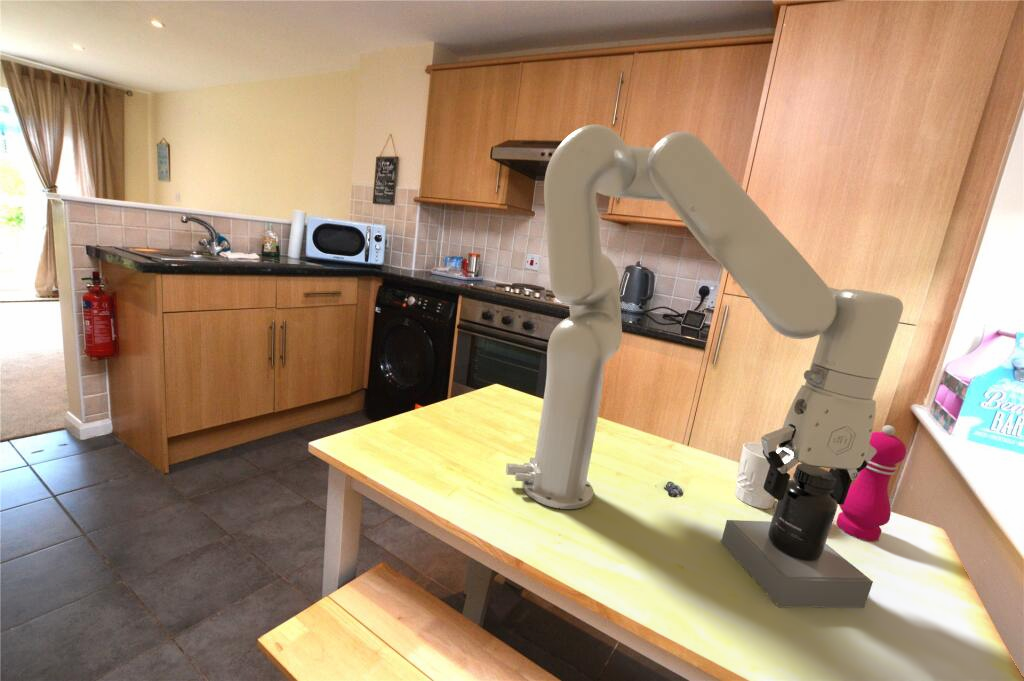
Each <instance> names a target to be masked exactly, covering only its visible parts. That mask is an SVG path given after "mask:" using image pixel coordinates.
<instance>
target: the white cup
mask: <svg viewBox="0 0 1024 681" xmlns="http://www.w3.org/2000/svg"><path fill="white" fill-rule="evenodd" d="M778 449H779V448H777V450H778ZM763 450H764V449H763V446H762V443H759V442H753V441H752V442H751V441H750V442H749V441H748V442H744V443H743V444H742V450H741V454H740V458H739V464H738V469H737V474H736V483H735V484H736V485H735V488H734V495H735V497H736V498H737V499H738V500H739V501H741V502H743V503H745V504H747V505H749V506H751V507H754V508H757V509H762V510H763V509H764V510H769V509H772V508H773V507H774V504H775V502H776V499H775V498H774V497H773V496H772V495H770V494H769V493H768V492H767V491H765V490H764V483H765V480H766V477H767V474H768V470H769V467H770V464H768V463H767V459H766V457H765V456H764V454H763ZM777 450H776V451H777ZM787 458H789V456H787V455H786V456H785V457H784V458H782V461H783V462H784V461H785V460H786V459H787Z"/></svg>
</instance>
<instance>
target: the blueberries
mask: <svg viewBox="0 0 1024 681" xmlns="http://www.w3.org/2000/svg"><path fill="white" fill-rule="evenodd" d="M656 484H657V485H654V487H655V488H657V486H659V485H658V483H656ZM663 489H664V490H665V491H666V492H667V496H669V497H670V498H676V499H677V498H679V497H681V496H684V492H683V489H682V488H681V487H680V486H679V485H676V484H675V483H674V482H673V481H667V483H666V485H665V486H664V487H663Z"/></svg>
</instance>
